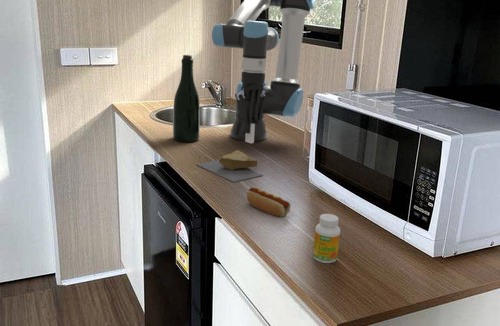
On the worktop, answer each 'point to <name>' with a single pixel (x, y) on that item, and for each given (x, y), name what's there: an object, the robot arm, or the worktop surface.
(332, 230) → the supplement bottle
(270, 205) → the food
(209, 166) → the mat
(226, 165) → the yellow wedge
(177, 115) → the dark green wine bottle
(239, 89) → the robot arm
